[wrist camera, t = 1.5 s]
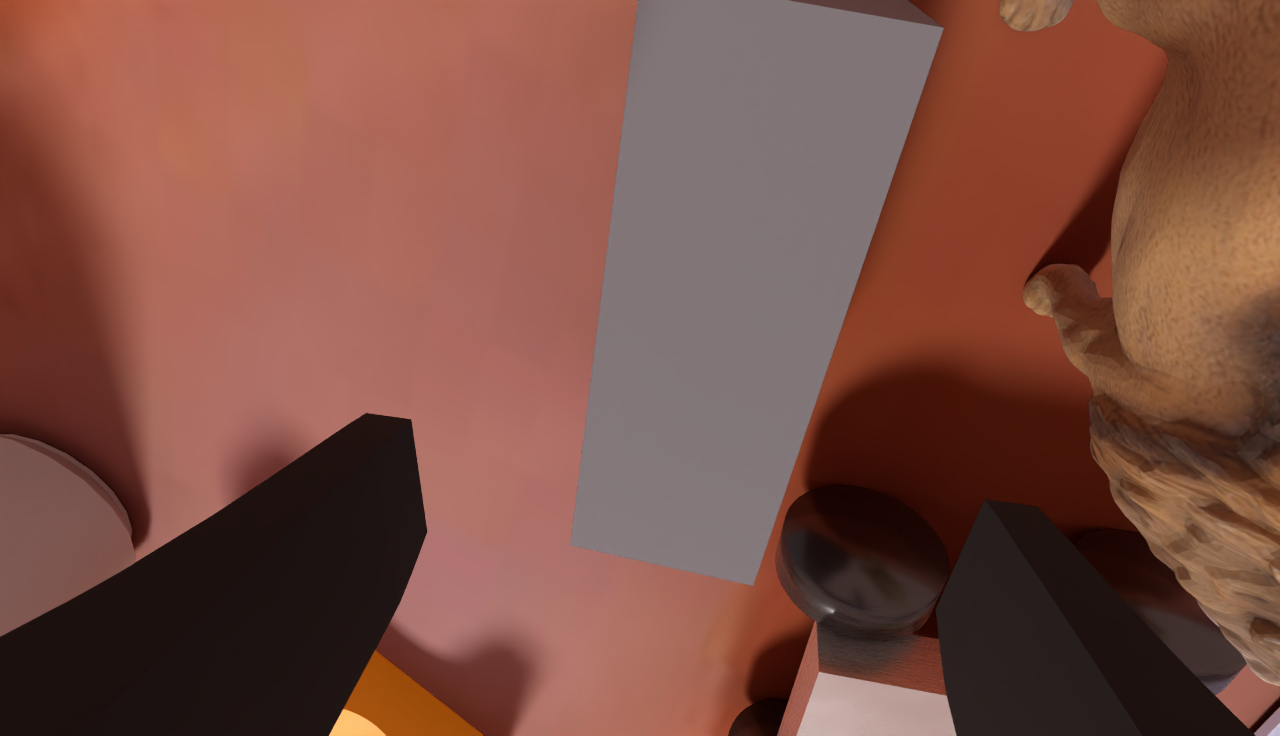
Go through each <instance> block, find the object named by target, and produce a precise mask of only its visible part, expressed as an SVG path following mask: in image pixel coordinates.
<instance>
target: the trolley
mask: <svg viewBox="0 0 1280 736" xmlns="http://www.w3.org/2000/svg"><path fill="white" fill-rule="evenodd" d="M1074 546H1075V547H1076V548H1077V549H1078V551H1079V552H1080V553H1081V554H1082V555H1083V556H1084V557H1085V558H1086V559H1087V560H1088V561H1089V563H1090V564H1091V565H1092V566H1093V567H1094V568H1095V569H1096V570H1097V571H1098V572H1099V573H1100V575H1101V576H1102V577H1103V578H1104V579H1105V580H1106V581H1107V582H1108V583H1109V584H1110V585H1111V587H1112V588H1113V589H1114V590H1115V591H1116V592H1117V593H1118V594H1119V595H1120V596H1121V597H1122V598H1123V600H1124V601H1125V602H1126V603H1127V604H1128V605H1129V606H1130V607H1131V608H1132V609H1133V610H1134V611H1135V613H1136V614H1137V615H1138V616H1139V617H1140V618H1141V619H1142V620H1143V621H1144V622H1145V623H1146V624H1147V625H1148V626H1149V628H1150V629H1151V630H1152V631H1153V632H1154V633H1155V634H1156V635H1157V636H1158V637H1159V638H1160V639H1161V640H1162V641H1163V642H1164V643H1165V644H1166V646H1167V647H1168V648H1169V649H1170V650H1171V651H1172V652H1173V653H1174V654H1175V655H1176V656H1177V657H1178V658H1179V659H1180V660H1181V661H1182V662H1183V663H1184V664H1185V665H1186V666H1187V667H1188V668H1189V670H1190V671H1191V672H1192V673H1193V674H1194V675H1195V676H1196V677H1197V678H1198V679H1199V680H1200V681H1201V682H1202V683H1203V684H1204V685H1205V686H1206V687H1207V688H1208V689H1209V690H1210V691H1211V692H1212V693H1213V694H1214V695H1216V694H1217V693H1219V692H1221V691H1223V690H1224V689H1225V688H1226V687H1227V686H1228V685H1229V684H1230V682H1231V681H1232V680H1233V679H1234V678H1235V677H1236V676H1237V674H1238V673H1239V672H1240V671H1241V670H1242V669H1243V668H1244V666H1245V665H1246V664H1247V663H1246V661H1245V659H1244V658H1243V656H1242V654H1241V653H1240V652H1239V651H1238V650H1237V649H1236V648H1235V647H1234V646H1233V645H1232V644H1231V643H1230V642H1229V641H1228V640H1227V639H1226V638H1225V637H1224V635H1223V633H1222V632H1221V630H1220V628H1219V627H1218V626H1217V625H1216V624H1215V623H1213V621H1212V620H1211V619H1210V618H1209V617H1208V616H1207V615H1206V614H1205V613H1204V611H1203V610H1202V609H1201V608H1200V606H1199V604H1198V602H1197V599H1196V598H1195V597H1194V596H1192V595H1191V594H1190V593H1189V592H1188V591H1186V590H1185V589H1184V588H1183V587H1182V586H1181V584H1180V583H1179V581H1178V580H1177V579H1176V576H1175V572H1174V571H1173V570H1172V569H1170V568H1169V567H1168V566H1167V565H1166V564H1164V563H1163V562H1162V561H1161V560H1159V559H1158V558H1157V557H1156V556H1155V555H1154V554H1153V553H1152V551H1151V550H1150V547H1149V545H1148V543H1147V541H1146V539H1145V538H1144V536H1143V535H1142V534H1139V533H1134V532H1129V531H1122V530H1099V531H1094V532H1090V533H1088V534H1085V535H1084V536H1082V537H1080V538H1079V539H1078V540H1077V541H1076V542H1075V543H1074ZM775 562H776V570H777V574H778V577H779V580H780V582H781V585H782V586H783V588H784V590H785V592H786V593H787V595H788V596H789V597H790V599H791V600H792V601H793V602H794V603H795V604H796V605H797V606H798V608H799V609H801V610H802V611H803V612H804V613H805V614H806V615H807V616H809V617H810V618H812V619H813V620H814V621H815V622H814V625H813V628H812V631H811V634H810V637H809V640H808V643H807V646H806V649H805V652H804V655H803V659H802V662H801V665H800V668H799V671H798V674H797V677H796V680H795V683H794V686H793V689H792V692H791V695H790V698H789V700H782V699H770V700H764V701H760V702H757V703H754V704H752V705H750V706H749V707H747V708H746V709H744V710H743V711H742V712H741V713H740V714H739V715H738V716H737V717H736V719H735V721H734V722H733V724H732V726H731V728H730V731H729V735H728V736H956V732H955V728H954V724H953V720H952V716H951V712H950V707H949V703H948V699H947V695H946V690H945V683H944V676H943V669H942V661H941V654H940V645H939V639H934V638H928V637H923V636H917V635H912V634H913V633H914V632H916V631H918V630H919V629H920V628H921V627H922V626H923V625H924V624H925V623H926V622H927V620H928V619H929V617H930V615H931V613H932V611H933V608H934V606H935V604H936V602H937V600H938V598H939V595H940V593H941V591H942V589H943V587H944V585H945V582H946V580H947V577H948V573H949V561H948V555H947V552H946V549H945V547H944V545H943V543H942V541H941V539H940V537H939V536H938V535H937V533H936V532H935V530H934V529H933V528H932V527H931V526H930V525H929V524H928V523H927V522H926V521H925V520H924V519H923V518H922V517H921V516H920V515H919V514H917V513H916V512H915V511H913V510H912V509H910V508H909V507H908V506H906V505H904V504H903V503H901V502H899V501H897V500H895V499H893V498H891V497H889V496H887V495H884V494H881V493H879V492H876V491H872V490H869V489H864V488H860V487H853V486H827V487H821V488H818V489H814V490H812V491H809V492H807V493H805V494H803V495H802V496H800V497H799V498H798V499H797V500H795V501H794V502H793V504H792V505H791V506H790V508H789V510H788V512H787V514H786V517H785V521H784V524H783V528H782V532H781V536H780V540H779V544H778V547H777V551H776V559H775Z"/></svg>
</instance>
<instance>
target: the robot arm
mask: <svg viewBox="0 0 1280 736" xmlns="http://www.w3.org/2000/svg"><path fill="white" fill-rule="evenodd" d="M426 534H427V527H426V520H425V513H424V506H423V499H422V492H421V485H420V478H419V471H418V464H417V457H416V450H415V443H414V436H413V429H412V422H411V419H405V418H398V417H390V416H383V415H376V414H369V413H366V414H364V415H362V416H361V417H359V418H358V419H356V420H354V421H353V422H351V423H350V424H348V425H347V426H345V427H344V428H342V429H341V430H339V431H338V432H336V433H335V434H333V435H332V436H330V437H329V438H327V439H326V440H324V441H323V442H321V443H320V444H318V445H317V446H316V447H314V448H313V449H311V450H310V451H308V452H307V453H305V454H304V455H302V456H301V457H299V458H298V459H296V460H295V461H294V462H292V463H291V464H289V465H288V466H286V467H285V468H283V469H282V470H280V471H279V472H277V473H276V474H274V475H273V476H271V477H270V478H268V479H267V480H265V481H264V482H262V483H261V484H259V485H258V486H256V487H255V488H253V489H252V490H250V491H249V492H247V493H246V494H244V495H243V496H241V497H240V498H238V499H237V500H235V501H234V502H232V503H231V504H229V505H228V506H226V507H225V508H223V509H222V510H220V511H219V512H217V513H215V514H214V515H212V516H211V517H209V518H207V519H206V520H204V521H203V522H201V523H199V524H198V525H196V526H194V527H193V528H191V529H189V530H188V531H186V532H185V533H183V534H181V535H180V536H178V537H176V538H175V539H173V540H171V541H170V542H168V543H167V544H165V545H163V546H162V547H160V548H158V549H157V550H155V551H153V552H152V553H150V554H149V555H147V556H145V557H144V558H142V559H140V560H139V561H137V562H135V563H134V564H132V565H131V566H129V567H127V568H126V569H124V570H122V571H121V572H119V573H117V574H115V575H114V576H112V577H110V578H108V579H107V580H105V581H103V582H101V583H100V584H98V585H96V586H94V587H92V588H91V589H89V590H87V591H85V592H83V593H82V594H80V595H78V596H76V597H74V598H73V599H71V600H69V601H67V602H65V603H63V604H61V605H60V606H58V607H56V608H54V609H52V610H50V611H48V612H46V613H44V614H42V615H41V616H39V617H37V618H35V619H33V620H31V621H29V622H27V623H25V624H23V625H21V626H20V627H18V628H16V629H14V630H12V631H10V632H8V633H6V634H4V635H2V636H0V736H329V735H330V733H331V731H332V729H333V727H334V725H335V724H336V722H337V720H338V718H339V716H340V714H341V712H342V711H343V709H344V707H345V705H346V703H347V701H348V699H349V698H350V696H351V694H352V692H353V690H354V688H355V686H356V685H357V683H358V681H359V679H360V677H361V675H362V673H363V672H364V670H365V668H366V666H367V664H368V662H369V660H370V659H371V657H372V655H373V653H374V651H375V649H376V647H377V645H378V644H379V642H380V640H381V638H382V636H383V634H384V632H385V630H386V628H387V627H388V625H389V623H390V621H391V619H392V617H393V615H394V613H395V611H396V609H397V607H398V605H399V603H400V601H401V599H402V596H403V594H404V591H405V589H406V586H407V584H408V581H409V579H410V576H411V574H412V571H413V569H414V566H415V563H416V561H417V558H418V555H419V553H420V550H421V547H422V545H423V542H424V539H425V536H426ZM936 617H937V626H938V635H939V645H940V654H941V661H942V669H943V676H944V683H945V690H946V695H947V699H948V703H949V707H950V712H951V716H952V720H953V724H954V728H955V732H956V736H1280V707H1279V708H1278V709H1277V710H1276V711H1275V712H1274V713H1273V714H1272V715H1271V716H1270V717H1269V719H1268V720H1267V721H1266V722H1265V723H1264V724H1263V725H1262V726H1261V727H1260V728H1259V729H1258V730H1257V731H1256V732H1255V733H1253V732H1251V731H1250V730H1249V729H1248V728H1247V727H1246V726H1245V725H1244V724H1243V723H1242V722H1241V721H1240V720H1239V719H1238V718H1237V717H1236V716H1235V715H1234V714H1233V713H1232V712H1231V711H1230V710H1229V709H1228V708H1227V707H1226V706H1225V705H1224V704H1223V703H1222V702H1221V701H1220V700H1219V699H1218V698H1217V697H1216V696H1215V695H1214V694H1213V693H1212V692H1211V691H1210V690H1209V689H1208V688H1207V687H1206V686H1205V685H1204V684H1203V683H1202V682H1201V681H1200V680H1199V679H1198V678H1197V677H1196V676H1195V675H1194V674H1193V673H1192V672H1191V671H1190V670H1189V668H1188V667H1187V666H1186V665H1185V664H1184V663H1183V662H1182V661H1181V660H1180V659H1179V658H1178V657H1177V656H1176V655H1175V654H1174V653H1173V652H1172V651H1171V650H1170V649H1169V648H1168V647H1167V646H1166V644H1165V643H1164V642H1163V641H1162V640H1161V639H1160V638H1159V637H1158V636H1157V635H1156V634H1155V633H1154V632H1153V631H1152V630H1151V629H1150V628H1149V626H1148V625H1147V624H1146V623H1145V622H1144V621H1143V620H1142V619H1141V618H1140V617H1139V616H1138V615H1137V614H1136V613H1135V611H1134V610H1133V609H1132V608H1131V607H1130V606H1129V605H1128V604H1127V603H1126V602H1125V601H1124V600H1123V598H1122V597H1121V596H1120V595H1119V594H1118V593H1117V592H1116V591H1115V590H1114V589H1113V588H1112V587H1111V585H1110V584H1109V583H1108V582H1107V581H1106V580H1105V579H1104V578H1103V577H1102V576H1101V575H1100V573H1099V572H1098V571H1097V570H1096V569H1095V568H1094V567H1093V566H1092V565H1091V564H1090V563H1089V561H1088V560H1087V559H1086V558H1085V557H1084V556H1083V555H1082V554H1081V553H1080V552H1079V551H1078V549H1077V548H1076V547H1075V546H1074V545H1073V544H1072V543H1071V542H1070V541H1069V540H1068V539H1067V537H1066V536H1065V535H1064V534H1063V533H1062V532H1061V531H1060V530H1059V529H1058V528H1057V527H1056V526H1055V525H1054V524H1053V523H1052V522H1051V520H1050V519H1049V518H1048V517H1047V516H1046V515H1045V514H1044V513H1043V512H1042V511H1041V510H1040V509H1039V508H1038V507H1035V506H1028V505H1021V504H1014V503H1007V502H1000V501H992V500H984V502H983V504H982V506H981V509H980V511H979V513H978V515H977V518H976V520H975V522H974V524H973V527H972V529H971V531H970V533H969V536H968V538H967V540H966V542H965V545H964V547H963V549H962V551H961V554H960V556H959V558H958V560H957V563H956V565H955V567H954V569H953V572H952V574H951V576H950V578H949V580H948V583H947V585H946V587H945V589H944V592H943V594H942V596H941V598H940V601H939V603H938V605H937V607H936Z"/></svg>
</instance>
